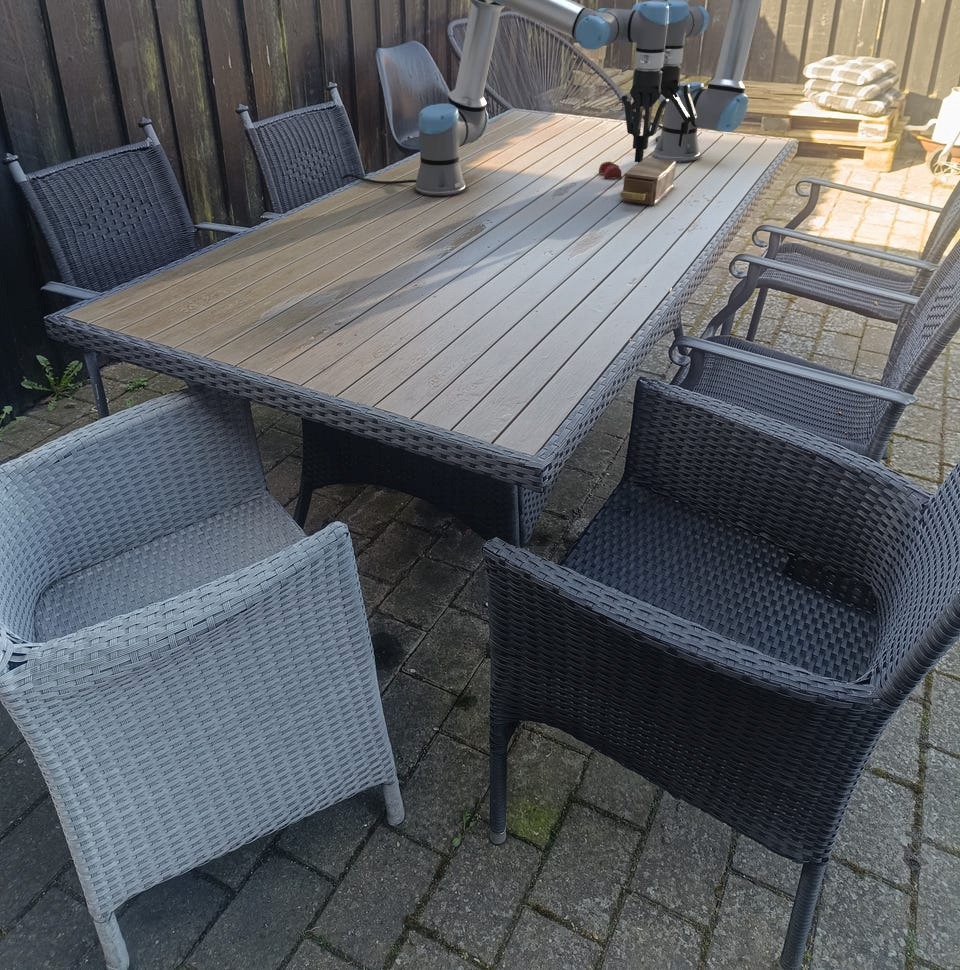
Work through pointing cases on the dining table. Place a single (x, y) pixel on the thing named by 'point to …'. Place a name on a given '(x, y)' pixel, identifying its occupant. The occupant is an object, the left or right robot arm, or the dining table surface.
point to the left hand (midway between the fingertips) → (638, 160)
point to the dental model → (610, 170)
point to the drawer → (638, 190)
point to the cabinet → (654, 176)
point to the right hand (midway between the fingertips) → (658, 143)
